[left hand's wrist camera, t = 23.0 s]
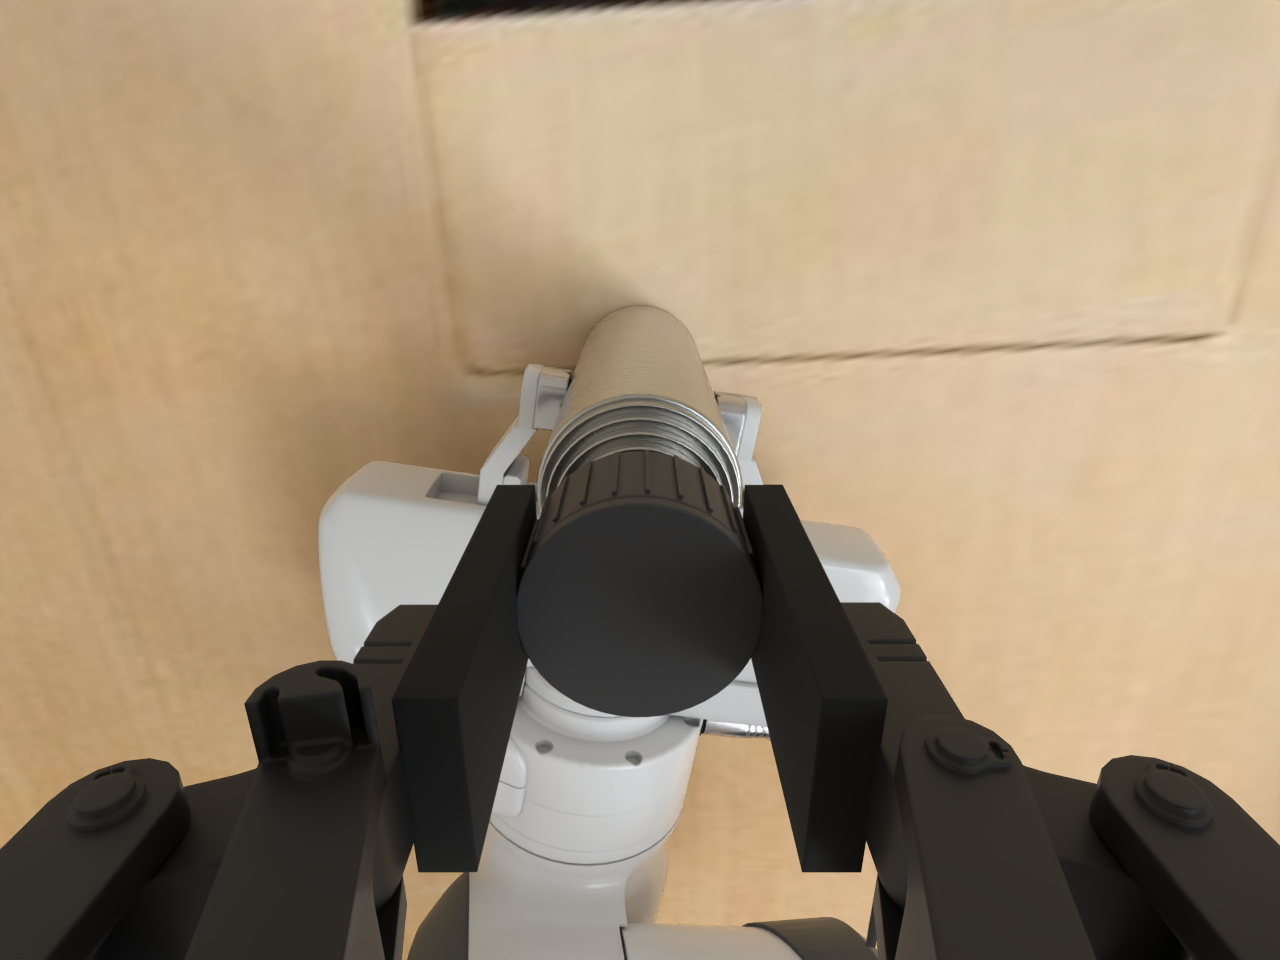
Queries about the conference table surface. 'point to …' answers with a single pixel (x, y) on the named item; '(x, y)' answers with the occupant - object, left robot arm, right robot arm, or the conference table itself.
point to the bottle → (639, 402)
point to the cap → (639, 587)
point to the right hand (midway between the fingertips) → (642, 383)
